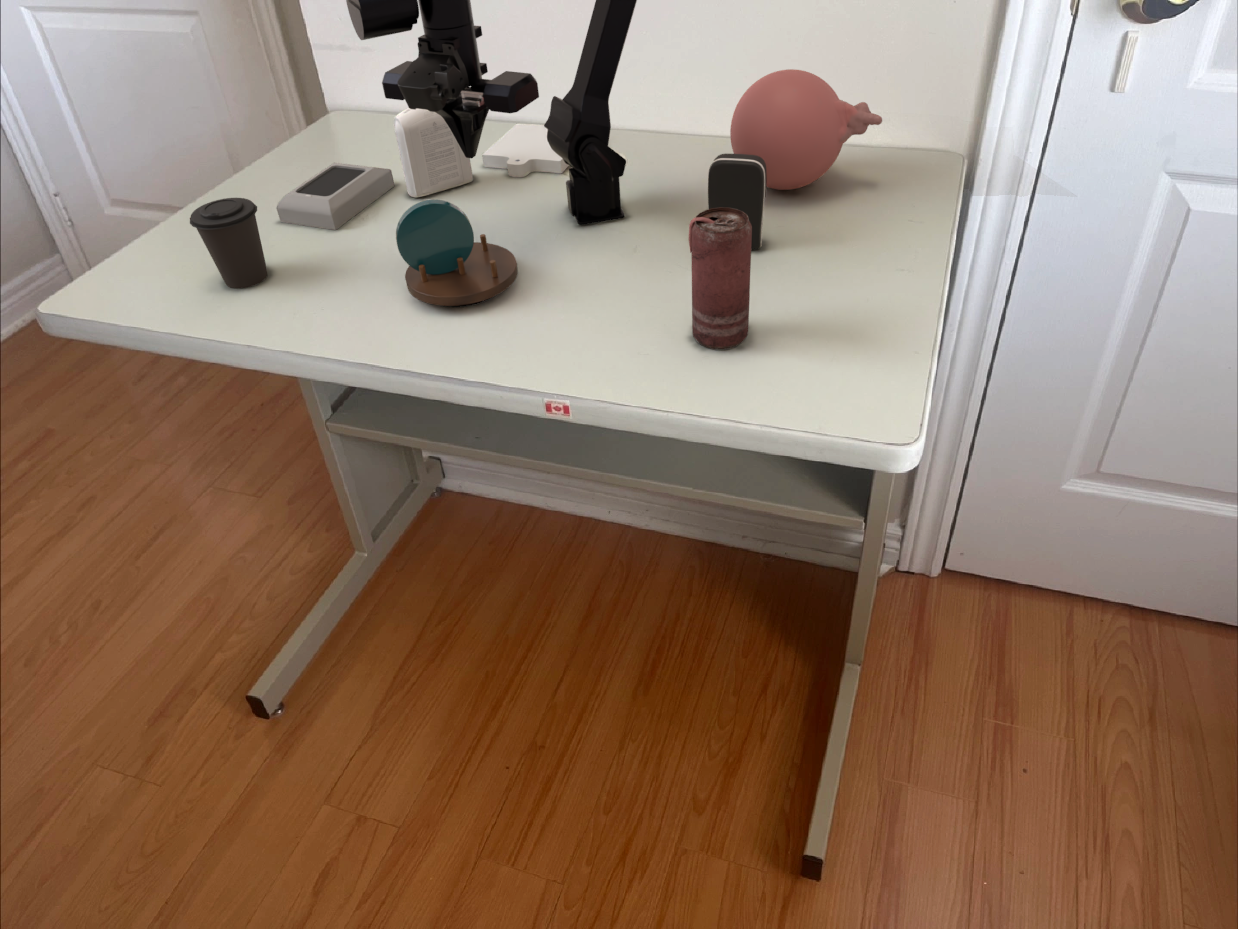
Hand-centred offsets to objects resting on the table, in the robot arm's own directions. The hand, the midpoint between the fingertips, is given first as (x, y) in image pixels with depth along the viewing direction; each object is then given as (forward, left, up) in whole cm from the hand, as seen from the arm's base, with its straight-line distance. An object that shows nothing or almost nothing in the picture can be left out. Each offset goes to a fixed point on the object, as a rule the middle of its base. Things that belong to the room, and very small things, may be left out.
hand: (470, 156), depth 115 cm
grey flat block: (+19, -21, -12) cm, 31 cm away
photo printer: (+4, -21, -12) cm, 25 cm away
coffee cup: (+31, -2, -12) cm, 33 cm away
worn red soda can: (-22, +31, -12) cm, 40 cm away
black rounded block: (-31, +11, -12) cm, 35 cm away
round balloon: (-45, -2, -12) cm, 47 cm away
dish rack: (+4, +10, -11) cm, 15 cm away
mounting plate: (-12, -28, -12) cm, 33 cm away
